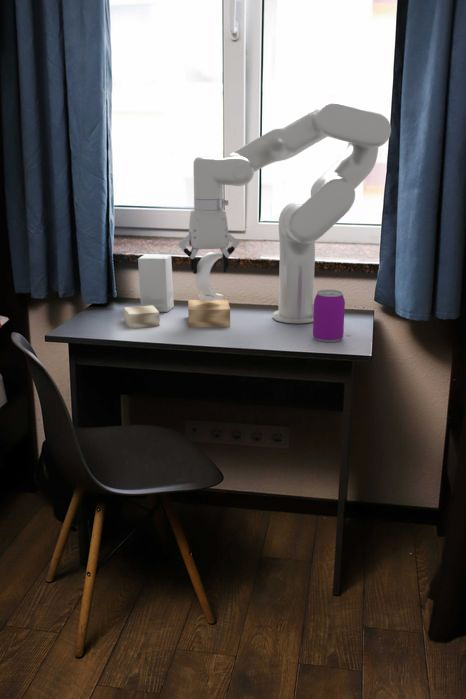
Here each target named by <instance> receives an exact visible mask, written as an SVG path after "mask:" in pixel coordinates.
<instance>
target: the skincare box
mask: <svg viewBox="0 0 466 699" xmlns="http://www.w3.org/2000/svg"><path fill="white" fill-rule="evenodd" d="M137 262H138V263H137V264H138V281H139V297H140V298H139V299H140V306H150V305H153V306H154V307H155V308H156V309H157V310H158V312H159V313H160V312H161V313H168V312H169V311H170V310H172V309H173V308H174V307H175V306H174V305H175V303H174V284H173V281H174V280H173V265H172V254H151V253H148V254H147V253H145V254H143V255H142V256H140V257H139V258H137Z"/></svg>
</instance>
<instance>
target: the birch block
mask: <svg viewBox="0 0 466 699" xmlns="http://www.w3.org/2000/svg"><path fill="white" fill-rule="evenodd" d="M123 310H124V311H123V312H124V313H123V315H124V322H125V324H127V326H128V328H129V329H135V328H148V327H151V328H152V327H160V325H161V324H160V312H158V310H157V309H156V308H155V307H154V306H153V305H150V306H141V305H138V306H137V305H136V306H125V307H123Z"/></svg>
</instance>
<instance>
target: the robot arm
mask: <svg viewBox="0 0 466 699" xmlns="http://www.w3.org/2000/svg"><path fill="white" fill-rule="evenodd" d="M391 133H392V126H391V122H390V121H389V119H388V118H387V117H386V116H384V115H383V114H381V113H377V112H374V111H371V110H368V109H367V110H366V109H362V108H357V107H355V106H351V105H347V104H342V103H339V102H335V101H321V102H318V103H317V104H314V105H312V106H311V107H309V108H307V109H306V110H304V111H302V112H301V113H299V114H297V115H296V116H294V117H292V118H291V119H288V120H287V121H286V122H284V123H282V124H280V125H278V126H277V127H275V128H273V129H272V130H270V131H268V132H266V133H264V134H263V135H261V136H259V137H258V138H256V139H253V140H252V141H250V142H248V143H247V144H244V145H243V146H242V147H239V148H238V149H236V150H234V151H233V152H231V153H229V154H227V155H226V156H225V157H224V158H221V157H218V156H211V155H210V156H206V155H205V156H198V157H196V158H194V161H193V210H190V215H189V222H188V223H189V225H188V234H187V235H186V236H184V237H183V238H182V239H180V241H179V242H178V244H177V245H178V247H179V248H180V249H181V250H182V252H183V253H184V254H186V255H187V257H189V268H190V271H191V272H192V274H194V275H195V274H196V273H197V265H198V261H197V259H196V257H197V254H198V252H199V250H220V251H221V254H223V257H222V258H220V262H221V263H220V266H221V267H220V268H221V269H220V271H222V273H227V269H229V257H230V256H231V255H232V253H233V252H235V249H237V247H238V246H239V245H240V240H238V239H237V238H236V237H234V236H233V235H232V234H230V233H229V226H228V217H227V211H226V210H225V209H224V208H225V207H226V206H229V200H226V199H224V191H223V190H224V186H223V185H225V186H232V187H243V186H245V185H248V184H249V183H250V182H251V181H252V179H253V178H254V175H255V172H257V171H259V170H260V169H263V168H264V167H266V166H269V165H271V164H273V163H276V162H281V161H286V160H288V159H291V158H293V157H296V155H299V154H301V153H302V152H304V151H305V150H307V149H309V148H310V147H312V146H314V145H315V144H316V143H319V142H321V141H323V140H324V139H326V138H329V137H330V138H333V139H335V140H339V141H343V142H347V143H348V144H347V147H346V150H345V151H344V153H343V154H342V155H341V157H340V158H338V160H337V161H336V162H335V163H334V164H333V165H331V167H330V168H329V169H328V170H327V171H325V172H324V173H323V174H321V176H320V177H319V178H317V179H316V181H315V182H314V183H313V184H312V186H311V188H310V197H309V198H308V199H307V200H306V201H305V202H300V201H294V202H290V203H288V204H287V205H286V206H284V208H282V210H281V212H280V214H279V217H278V236H279V237H278V238H279V264H278V265H279V266H278V267H279V269H278V270H279V272H278V273H279V274H278V276H279V278H278V310H275V311H274V312H272V318H273V320H275V321H278V322H280V323H285V324H310V323H313V314H314V291H315V290H314V289H315V286H314V285H315V264H316V245H315V244H316V241H318V240H319V239H320V238H321V237H323V236H324V235H325V234H326V233H327V232H329V230H330V229H332V228H333V226H334V225H336V224H337V223H338V222H339V221H340V220H341V219H342V218H343V217H344V216H346V214H347V213H348V212H349V211H350V210H351V208H352V207H353V205H354V202H355V199H356V191H355V189H357V187H359V186H360V185H361V183H362V182H363V181H364V180H365V179H366V178H367V177H368V176H369V175H370V173H371V172H372V171H373V169H374V167H375V166H376V164H377V159H378V155H379V154H378V153H379V147H382V146H383V145H385V144H386V143H387V142H388V140H390V137H391ZM230 241H231V245H230V246H229V242H230ZM186 244H189V246H190V247H191V249H190V250H189V249H188V248H187V247H186Z"/></svg>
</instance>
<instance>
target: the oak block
mask: <svg viewBox="0 0 466 699" xmlns="http://www.w3.org/2000/svg"><path fill="white" fill-rule="evenodd" d="M187 304H188V306H187V307H188V317H187V318H188V319H187V320H188V328H213V327H214V328H216V327H218V328H219V327H229V328H230V327H231V306H230V302H229V299H217V300H213V301H207V300H203V299H188V301H187Z"/></svg>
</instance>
